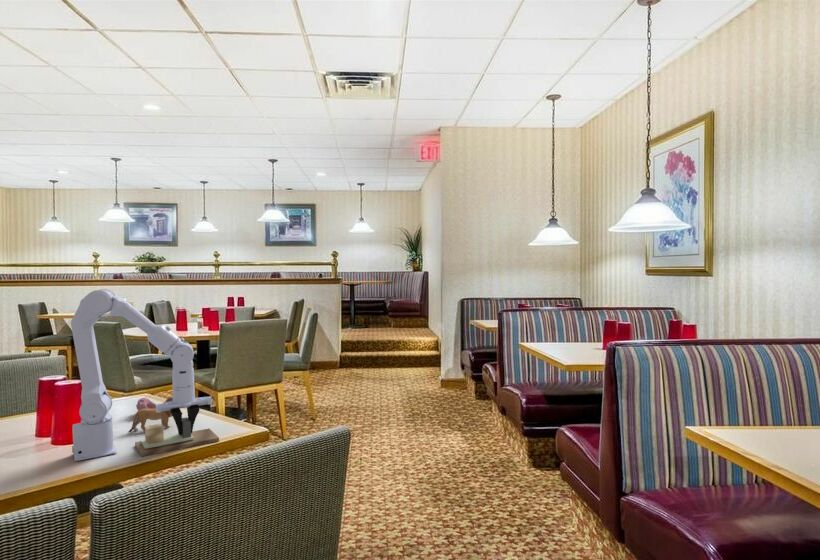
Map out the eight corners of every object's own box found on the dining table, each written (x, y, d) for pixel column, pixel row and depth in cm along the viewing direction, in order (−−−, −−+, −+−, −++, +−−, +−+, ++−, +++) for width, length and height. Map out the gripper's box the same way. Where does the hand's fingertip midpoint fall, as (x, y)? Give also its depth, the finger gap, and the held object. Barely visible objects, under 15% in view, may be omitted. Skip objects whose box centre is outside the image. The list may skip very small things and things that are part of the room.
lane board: (141, 456, 141) (140, 453, 140) (135, 445, 150) (135, 442, 150) (219, 441, 152) (219, 437, 152) (209, 431, 161) (209, 428, 161)
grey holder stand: (144, 448, 143) (143, 430, 143) (140, 442, 149) (140, 424, 148) (193, 439, 150) (193, 421, 150) (188, 433, 156) (187, 416, 155)
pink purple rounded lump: (147, 415, 186) (137, 398, 185) (160, 408, 187) (149, 391, 186) (143, 423, 177) (131, 405, 176) (156, 416, 178) (145, 398, 177)
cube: (147, 444, 145) (147, 429, 144) (145, 440, 148) (144, 426, 148) (163, 441, 147) (163, 426, 147) (161, 437, 150) (160, 423, 150)
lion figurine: (176, 422, 172) (175, 394, 172) (182, 425, 168) (181, 397, 168) (126, 432, 163) (125, 402, 162) (130, 436, 159) (129, 406, 158)
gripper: (158, 392, 144) (160, 442, 144) (213, 384, 152) (215, 431, 153) (153, 387, 150) (155, 435, 150) (207, 380, 158) (209, 425, 158)
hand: (185, 433), depth 152 cm, fingers closed on grey holder stand, 2 cm apart
